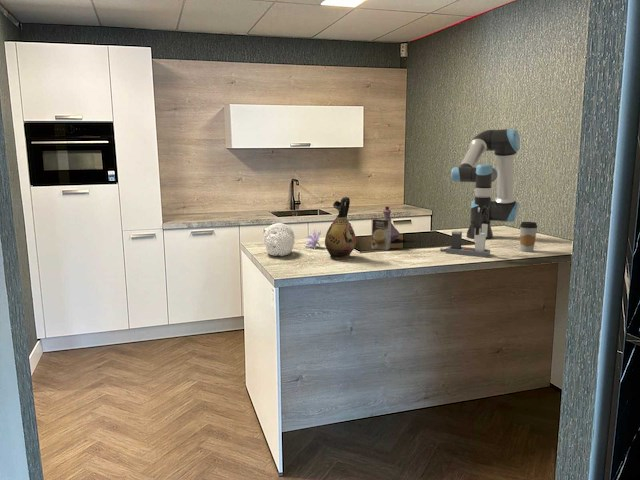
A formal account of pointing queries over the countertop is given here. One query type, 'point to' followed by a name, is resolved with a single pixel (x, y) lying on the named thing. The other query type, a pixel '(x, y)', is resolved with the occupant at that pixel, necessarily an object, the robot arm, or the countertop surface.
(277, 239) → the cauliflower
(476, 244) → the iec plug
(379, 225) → the coffee box
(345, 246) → the ceramic jug
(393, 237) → the flask
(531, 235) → the coffee cup
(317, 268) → the countertop surface
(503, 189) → the robot arm
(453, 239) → the twin plug
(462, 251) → the pdu strip
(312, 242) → the water lily
